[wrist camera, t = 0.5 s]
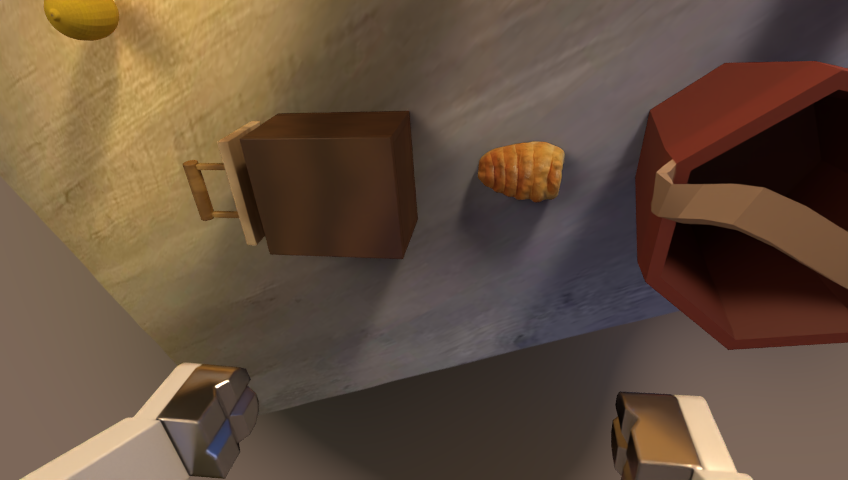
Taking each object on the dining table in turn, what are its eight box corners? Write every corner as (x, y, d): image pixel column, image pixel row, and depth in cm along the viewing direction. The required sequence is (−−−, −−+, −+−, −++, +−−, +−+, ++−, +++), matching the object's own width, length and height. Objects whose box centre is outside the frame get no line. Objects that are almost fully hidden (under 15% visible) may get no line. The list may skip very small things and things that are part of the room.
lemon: (144, 20, 53) (90, 29, 46) (113, 43, 55) (56, 55, 48) (109, -31, 51) (46, -29, 44) (77, -4, 53) (13, 1, 46)
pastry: (477, 191, 57) (475, 205, 54) (480, 136, 53) (477, 147, 50) (558, 195, 55) (561, 210, 52) (566, 139, 52) (569, 150, 49)
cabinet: (300, 217, 63) (269, 254, 55) (278, 113, 56) (238, 139, 48) (418, 219, 60) (403, 259, 52) (409, 110, 53) (390, 137, 45)
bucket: (559, 145, 52) (589, 274, 31) (746, -40, 41) (986, -35, 20) (708, 273, 57) (821, 459, 36) (909, 137, 46) (1241, 289, 25)
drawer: (233, 215, 63) (202, 243, 57) (206, 122, 57) (167, 142, 51) (382, 218, 60) (366, 248, 54) (369, 119, 53) (350, 140, 47)
